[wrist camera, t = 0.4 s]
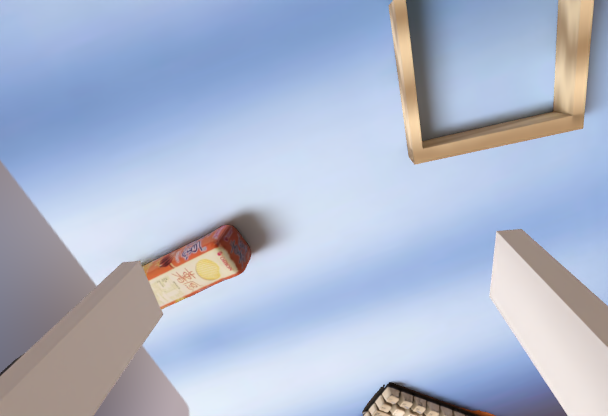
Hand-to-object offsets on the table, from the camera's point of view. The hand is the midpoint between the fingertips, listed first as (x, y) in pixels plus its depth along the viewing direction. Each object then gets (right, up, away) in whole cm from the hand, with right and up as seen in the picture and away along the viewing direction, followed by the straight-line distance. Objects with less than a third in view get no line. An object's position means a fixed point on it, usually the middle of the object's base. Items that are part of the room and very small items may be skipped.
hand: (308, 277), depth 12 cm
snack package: (-18, -5, +34) cm, 39 cm away
